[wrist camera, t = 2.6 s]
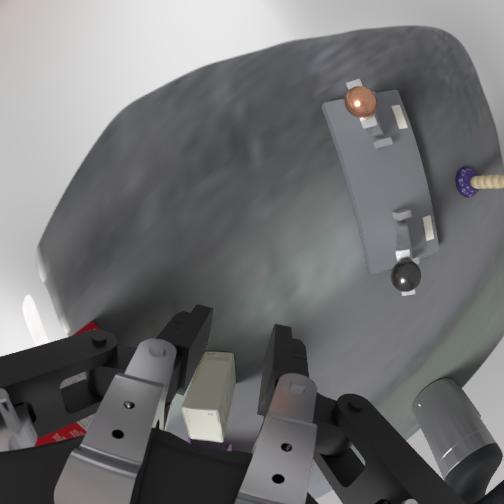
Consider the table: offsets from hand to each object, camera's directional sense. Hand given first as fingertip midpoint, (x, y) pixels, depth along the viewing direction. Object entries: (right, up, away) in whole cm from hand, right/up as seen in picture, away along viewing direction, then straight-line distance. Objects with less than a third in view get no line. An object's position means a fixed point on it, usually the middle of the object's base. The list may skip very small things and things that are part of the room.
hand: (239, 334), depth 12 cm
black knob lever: (+19, +5, +18) cm, 27 cm away
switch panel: (+17, +13, +19) cm, 28 cm away
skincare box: (-4, -13, +27) cm, 31 cm away
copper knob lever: (+15, +19, +16) cm, 28 cm away
